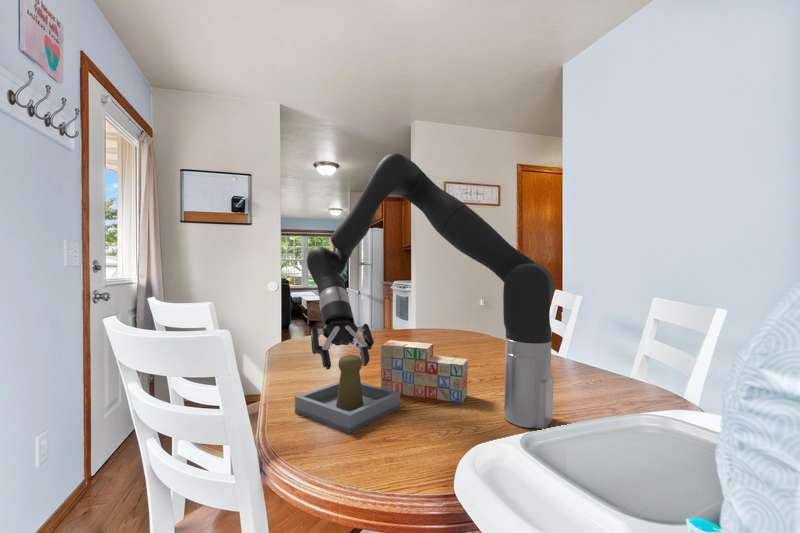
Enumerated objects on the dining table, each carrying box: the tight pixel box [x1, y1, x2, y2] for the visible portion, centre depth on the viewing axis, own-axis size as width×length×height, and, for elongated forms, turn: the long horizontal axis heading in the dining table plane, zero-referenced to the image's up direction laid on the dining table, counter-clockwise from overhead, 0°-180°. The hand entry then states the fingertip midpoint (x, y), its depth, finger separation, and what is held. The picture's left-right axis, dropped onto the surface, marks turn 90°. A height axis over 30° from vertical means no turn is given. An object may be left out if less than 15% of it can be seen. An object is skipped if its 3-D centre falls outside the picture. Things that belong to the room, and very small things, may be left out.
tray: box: [294, 381, 401, 435], centre depth 85 cm, size 16×16×4 cm
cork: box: [336, 354, 363, 410], centre depth 85 cm, size 6×6×11 cm
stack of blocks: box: [380, 339, 469, 404], centre depth 97 cm, size 21×6×12 cm, turn 68°
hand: (347, 366), depth 86 cm, fingers open, 8 cm apart
